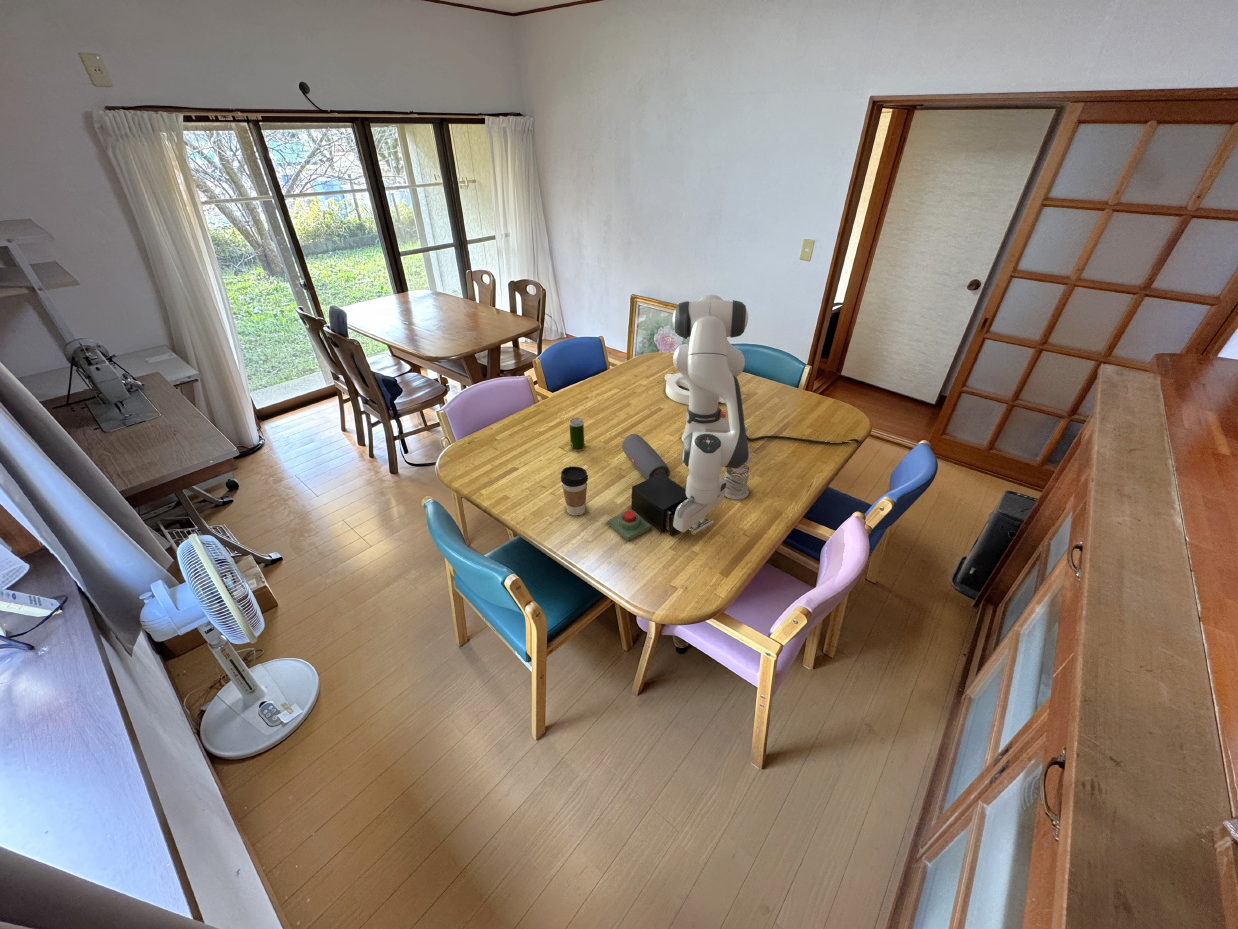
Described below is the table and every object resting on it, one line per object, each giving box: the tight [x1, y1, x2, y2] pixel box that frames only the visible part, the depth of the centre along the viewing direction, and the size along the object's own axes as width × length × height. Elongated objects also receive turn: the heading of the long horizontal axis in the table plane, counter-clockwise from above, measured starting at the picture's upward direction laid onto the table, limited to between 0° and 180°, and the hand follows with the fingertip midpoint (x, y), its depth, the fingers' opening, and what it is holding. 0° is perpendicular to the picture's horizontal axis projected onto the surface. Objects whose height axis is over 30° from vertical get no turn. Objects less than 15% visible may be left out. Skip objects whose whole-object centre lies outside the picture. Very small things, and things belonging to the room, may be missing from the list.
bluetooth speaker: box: [621, 433, 671, 480], centre depth 173 cm, size 23×9×10 cm, turn 23°
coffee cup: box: [560, 466, 589, 516], centre depth 153 cm, size 8×8×15 cm
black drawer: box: [663, 499, 715, 538], centre depth 148 cm, size 21×11×7 cm, turn 38°
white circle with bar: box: [664, 372, 726, 406], centre depth 229 cm, size 28×28×5 cm
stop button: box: [623, 510, 636, 522], centre depth 148 cm, size 4×4×2 cm
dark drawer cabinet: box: [630, 473, 688, 534], centre depth 153 cm, size 15×13×9 cm
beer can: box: [568, 417, 585, 452], centre depth 185 cm, size 5×5×12 cm
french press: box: [719, 426, 753, 500], centre depth 160 cm, size 10×12×25 cm
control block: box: [607, 508, 652, 542], centre depth 149 cm, size 10×9×4 cm
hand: (697, 527), depth 143 cm, fingers closed
